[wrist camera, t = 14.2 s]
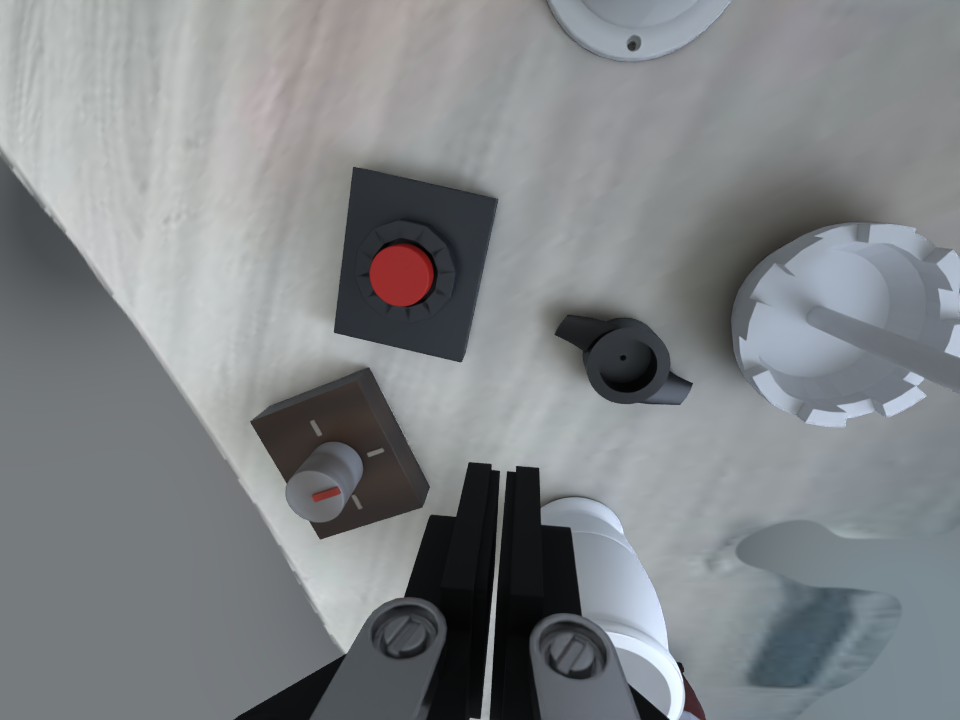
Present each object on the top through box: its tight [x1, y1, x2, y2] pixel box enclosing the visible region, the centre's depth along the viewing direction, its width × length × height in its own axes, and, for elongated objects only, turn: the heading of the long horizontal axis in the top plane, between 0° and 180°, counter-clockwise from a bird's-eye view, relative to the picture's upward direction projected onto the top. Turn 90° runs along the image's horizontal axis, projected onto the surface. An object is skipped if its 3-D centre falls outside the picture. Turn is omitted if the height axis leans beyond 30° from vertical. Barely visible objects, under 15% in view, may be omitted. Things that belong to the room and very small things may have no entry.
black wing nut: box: [555, 315, 693, 405], centre depth 36 cm, size 8×10×3 cm
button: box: [370, 243, 434, 306], centre depth 33 cm, size 4×4×2 cm
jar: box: [541, 497, 685, 720], centre depth 36 cm, size 11×10×15 cm
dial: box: [286, 442, 363, 522], centre depth 38 cm, size 4×4×5 cm
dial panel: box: [250, 368, 430, 539], centre depth 41 cm, size 12×10×3 cm
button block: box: [334, 167, 498, 362], centre depth 35 cm, size 12×10×4 cm
